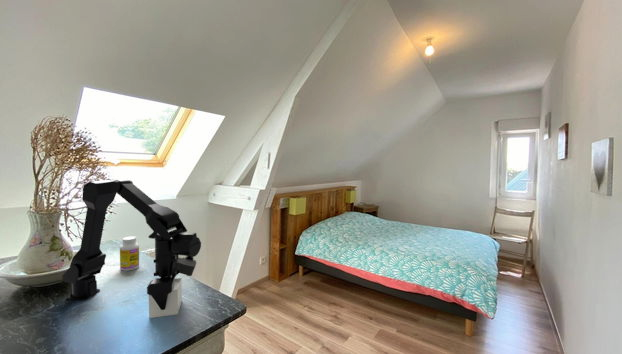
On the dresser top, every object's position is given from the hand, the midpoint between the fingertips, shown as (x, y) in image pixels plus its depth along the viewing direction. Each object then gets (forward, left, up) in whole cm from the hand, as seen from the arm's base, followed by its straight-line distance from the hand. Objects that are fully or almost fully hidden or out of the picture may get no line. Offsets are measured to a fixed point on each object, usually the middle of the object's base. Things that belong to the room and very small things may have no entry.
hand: (166, 301), depth 85 cm
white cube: (0, 0, -2) cm, 3 cm away
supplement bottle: (-32, +27, -3) cm, 42 cm away
